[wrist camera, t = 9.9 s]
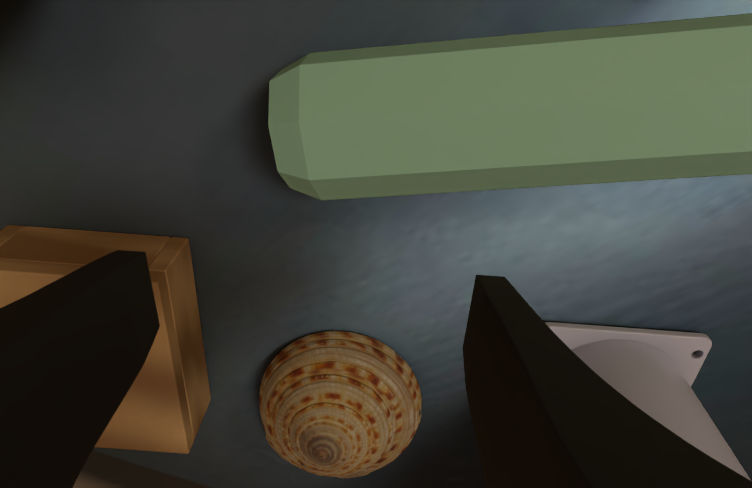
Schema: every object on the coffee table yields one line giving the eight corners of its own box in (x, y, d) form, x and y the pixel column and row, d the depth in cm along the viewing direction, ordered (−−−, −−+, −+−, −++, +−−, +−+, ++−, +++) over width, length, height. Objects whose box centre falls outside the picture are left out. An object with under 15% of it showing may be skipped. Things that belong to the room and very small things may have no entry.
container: (251, 224, 16) (1205, 168, 13) (231, 18, 15) (1242, -81, 12) (297, 210, 22) (967, 169, 19) (285, 61, 21) (981, -1, 18)
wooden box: (211, 398, 28) (188, 454, 25) (62, 387, 28) (22, 442, 25) (189, 237, 23) (157, 282, 20) (7, 223, 23) (-52, 267, 20)
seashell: (263, 488, 28) (231, 446, 22) (280, 387, 32) (256, 325, 25) (416, 496, 28) (428, 456, 21) (416, 393, 31) (427, 332, 25)
